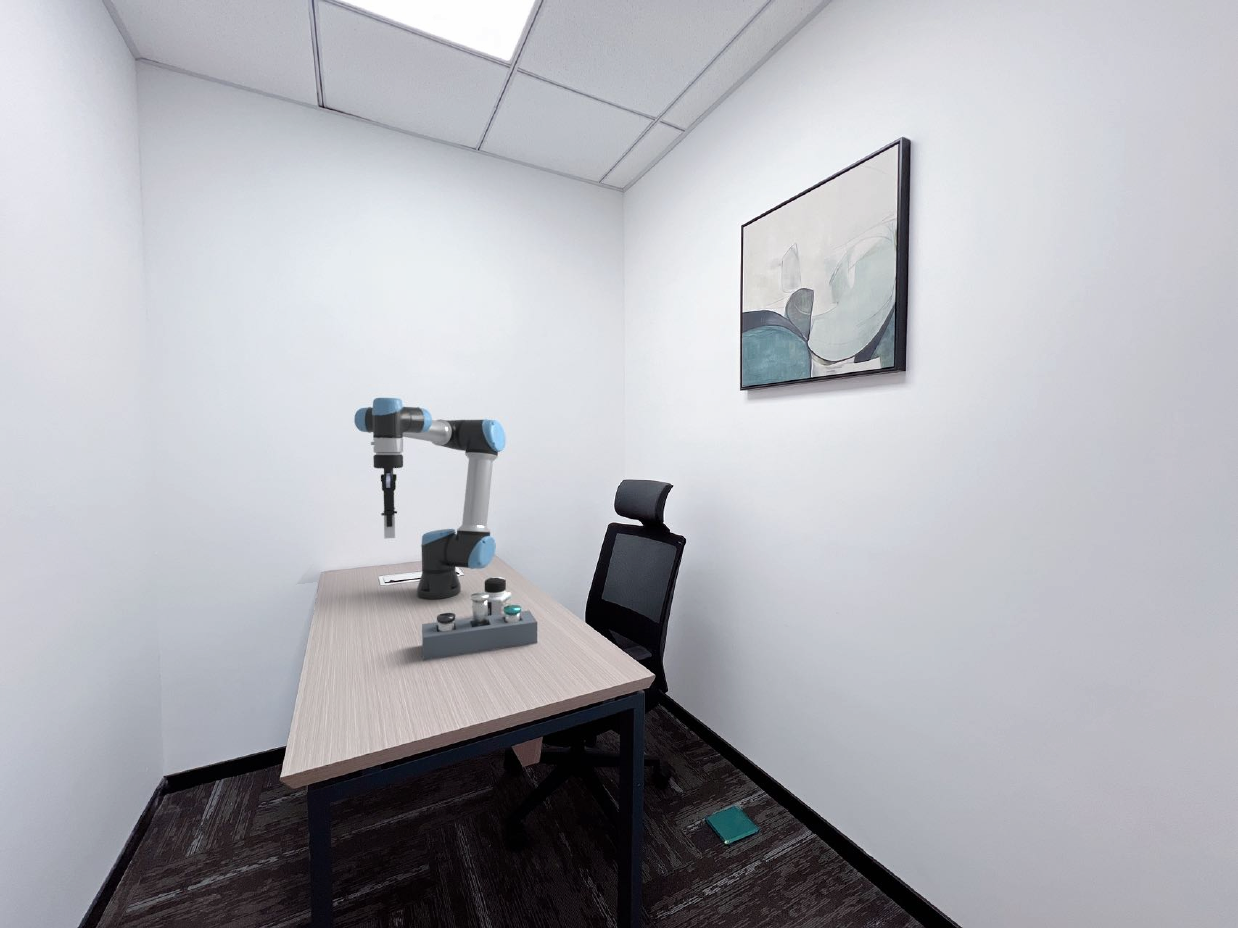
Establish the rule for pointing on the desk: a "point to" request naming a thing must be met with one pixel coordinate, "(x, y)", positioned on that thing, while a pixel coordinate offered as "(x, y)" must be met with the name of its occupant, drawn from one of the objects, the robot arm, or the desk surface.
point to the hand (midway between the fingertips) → (389, 537)
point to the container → (497, 595)
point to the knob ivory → (480, 609)
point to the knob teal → (512, 613)
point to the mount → (478, 636)
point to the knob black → (446, 621)
